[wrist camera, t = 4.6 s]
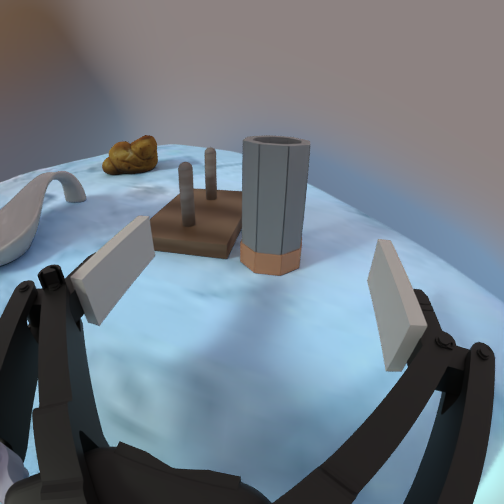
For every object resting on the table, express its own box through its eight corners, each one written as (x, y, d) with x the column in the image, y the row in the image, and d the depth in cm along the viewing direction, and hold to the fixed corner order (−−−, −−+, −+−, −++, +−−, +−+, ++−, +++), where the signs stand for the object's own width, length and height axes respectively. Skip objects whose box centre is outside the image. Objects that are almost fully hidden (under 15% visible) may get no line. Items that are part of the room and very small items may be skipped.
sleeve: (298, 277, 25) (312, 148, 19) (236, 270, 25) (236, 143, 20) (300, 247, 29) (310, 138, 24) (248, 241, 30) (250, 134, 24)
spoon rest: (7, 287, 22) (-16, 226, 18) (-37, 275, 22) (-55, 226, 18) (103, 200, 42) (96, 158, 38) (53, 202, 42) (46, 165, 39)
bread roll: (98, 180, 52) (93, 143, 48) (111, 168, 60) (108, 136, 56) (156, 174, 54) (153, 135, 50) (163, 163, 62) (161, 129, 58)
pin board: (226, 258, 27) (225, 173, 23) (135, 248, 28) (123, 171, 24) (254, 202, 40) (255, 144, 36) (186, 198, 41) (183, 143, 37)
